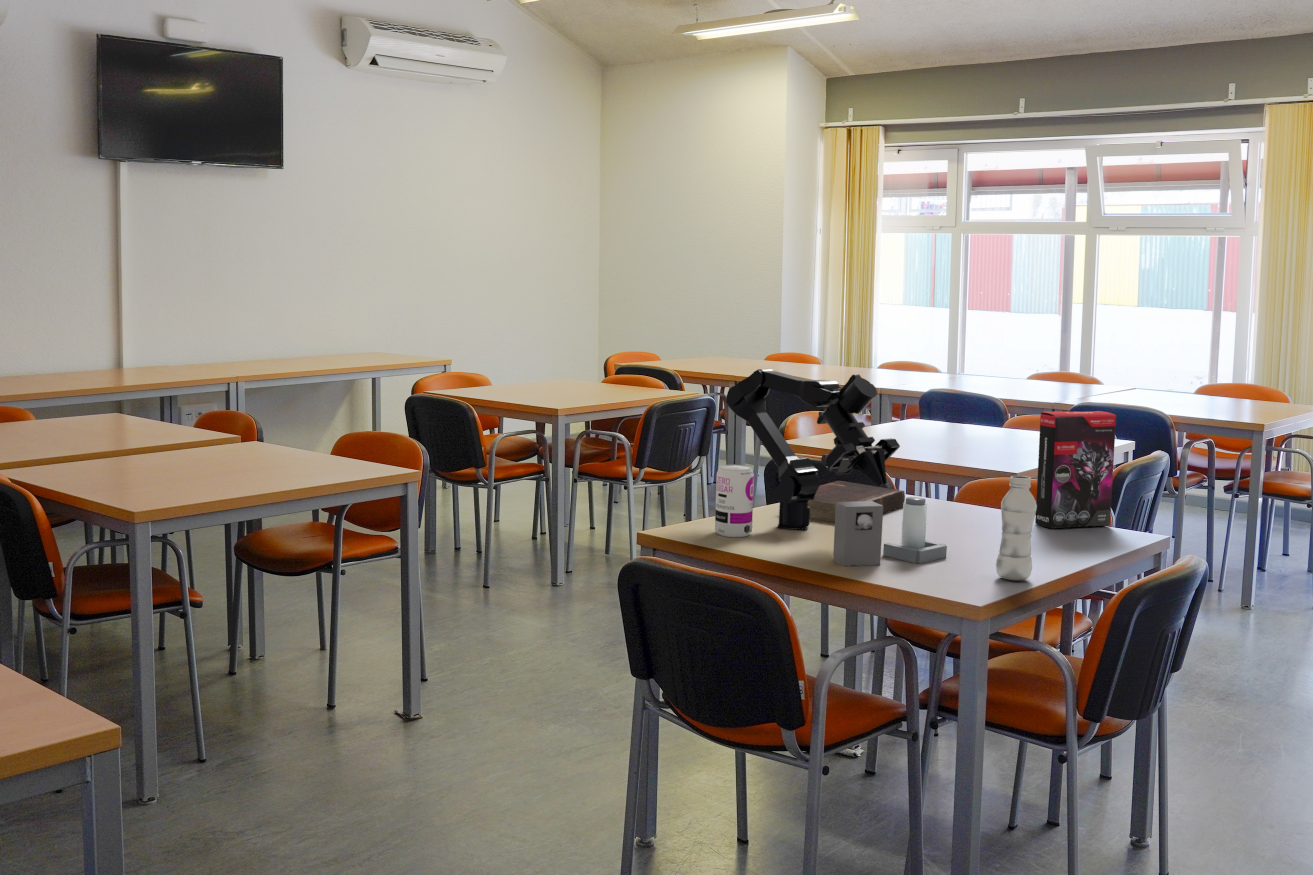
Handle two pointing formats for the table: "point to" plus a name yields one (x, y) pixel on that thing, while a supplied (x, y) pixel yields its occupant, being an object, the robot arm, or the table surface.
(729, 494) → the supplement can
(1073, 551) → the table surface
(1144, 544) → the table surface
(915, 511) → the cylinder
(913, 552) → the cradle
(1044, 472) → the graphics card box
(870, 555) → the block
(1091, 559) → the table surface
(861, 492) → the hardback book
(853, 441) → the robot arm
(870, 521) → the plunger
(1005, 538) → the plastic bottle
